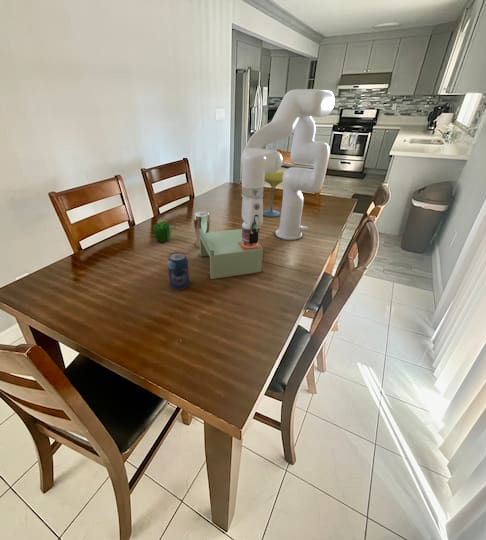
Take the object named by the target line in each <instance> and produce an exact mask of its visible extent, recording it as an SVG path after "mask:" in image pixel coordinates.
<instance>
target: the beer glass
mask: <svg viewBox="0 0 486 540" xmlns="http://www.w3.org/2000/svg"><path fill="white" fill-rule="evenodd" d="M210 221H211V220H210V213H209V212H208V211H202V210H201V211H196V212H194V213H193V229H194V233H195V238H196V241H195V247H197V248H199V249H200V237H199V229H202V230H203V232H204V233H209V232H210V228H211V227H210V226H211V222H210Z"/></svg>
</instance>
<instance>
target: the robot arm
mask: <svg viewBox="0 0 486 540" xmlns="http://www.w3.org/2000/svg"><path fill="white" fill-rule="evenodd" d="M334 106H335V95H334V92H333V91H331V90H326V89H318V88H302V89H301V88H295V89H291V90H288V91H287V92H286V93H285V94H284V96H283V98H282V99H281V102H280V104H279V106H278V108H277V110H276V112H275V113H274V115H273V117H272V118H271V121H270V122H268V123H267V124H264V126H262V127H260V128H259V129H258V130H256V131H255V132H254V133H253V134H252V135H251V136H250V138H249V139H248V141H247V142H246V145H245V147H244V149H243V151H242V154H241V158H240V163H241V166H242V168H241V169H242V170H241V193H240V196H241V197H242V198H241V199H242V201H241V219H242V222H241V223H242V224H243V223H244V217H245V218H246V222H247V224H248V225H249V226H250V231H251V233H250V235H249V243H250V244H254V243H258V244H259V234H260V230H261V228H262V225H263V224H264V215H263V211H264V201H263V197H264V190H265V181H264V179H265V174H271V173H275V172H277V171H278V170H279V169H280V167H281V166H283V161H284V159H283V155H282V153H281V152H280V151H278V150H275V149H267V148H264V147H266V146H268V145H270V144H273V143H276V142H279V141H281V140H285V139H287V138H289V137H291V135H292V134H293V137H292V144H291V148H290V154H289V155H290V156H289V159H290V162H292V163H293V164H296V165H303V166H310V167H313V168H312V169H311V168H305V167H297V166H296V167H295V166H293V167H290V168H288V169H287V170H285V172H284V174H283V179H282V180H283V182H282V201H281V210H280V213H281V214H280V218H279V227H278V228H277V229H276V230H275V232H274V233H275V236H276V237H278V238H279V239H282V240H287V241H296V240H299V239H301V238H302V237H303V233H302V232H305V231H309V229H310V228H309V226H304V224H302V225H301V221H302V215H303V208H304V203H305V202H304V196H303V193H309V194H317V193H319V192H321V190H322V189H323V186H324V182H325V179H326V173H327V168H328V165H329V160H330V153H331V150H330V148H331V147H330V145H329V144H328V143H327V142H326V141H325V142H324V141H317V140H315V136H316V131H317V127H316V123H315V120H314V118H324V117H327V116H329V115H330V114H331V113H332V111H333V109H334ZM302 192H303V193H302ZM252 223H255V225H252ZM242 224H241V225H242ZM255 226H256V227H255ZM253 227H255V228H254V229H253Z"/></svg>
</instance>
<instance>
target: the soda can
mask: <svg viewBox="0 0 486 540" xmlns="http://www.w3.org/2000/svg"><path fill="white" fill-rule="evenodd" d="M167 270H168V280H169V281H168V282H169V285H170V287H171V288H173V289H174V290H176V291H180V290H184V289H186V288H187V287H188V286H189V284H190V274H189V260H188V258H187V256H186V254H185V253H184V252H180V251H175V252H172V253H170V254H169V255H168V258H167Z"/></svg>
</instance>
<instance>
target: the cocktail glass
mask: <svg viewBox="0 0 486 540" xmlns="http://www.w3.org/2000/svg"><path fill="white" fill-rule="evenodd" d="M288 168H291V167H290V166H285V165H281V167H280V169H279V170H278V171H277V172H275V173H271V174H265V179H264V182H266V183H268V184H269V185H270V187H271V188H272V193H271V203H270V208H269V209H264V210H263V217H264V216H265V217H268V218H276V217H279V216H281V211H278V210H274V209H273V205H274V204H273V203H274V193H275V192H274V190H275V188H276V187H277V186H278V185H281V184H283V180H282V179H283V174H284V172H285V170H287V169H288Z"/></svg>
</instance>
